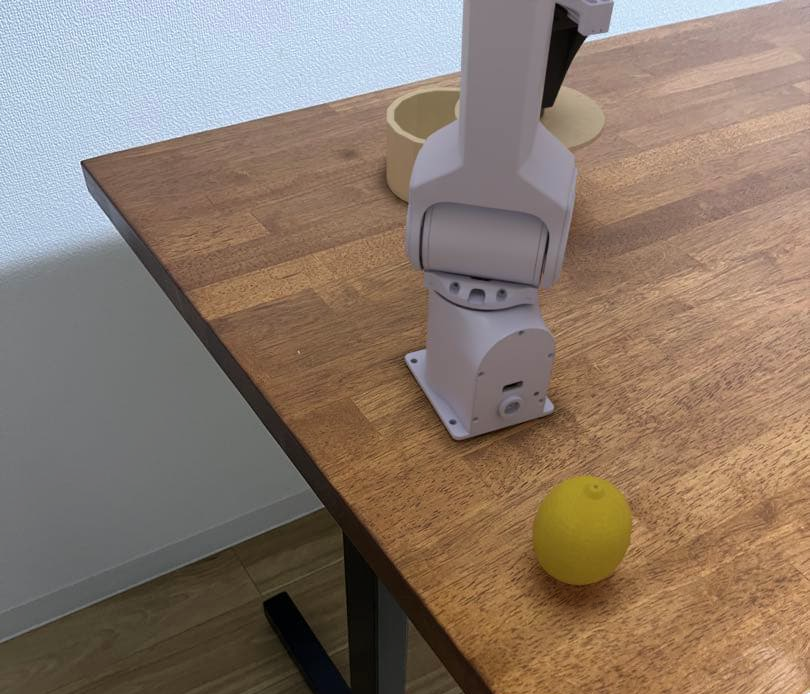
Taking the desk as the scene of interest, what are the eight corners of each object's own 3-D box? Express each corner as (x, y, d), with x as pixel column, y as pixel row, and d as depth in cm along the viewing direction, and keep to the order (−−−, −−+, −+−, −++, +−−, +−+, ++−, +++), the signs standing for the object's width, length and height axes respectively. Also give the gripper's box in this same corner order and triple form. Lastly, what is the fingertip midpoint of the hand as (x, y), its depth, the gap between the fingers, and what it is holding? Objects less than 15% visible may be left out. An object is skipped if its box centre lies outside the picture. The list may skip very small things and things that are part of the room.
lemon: (611, 617, 48) (646, 534, 41) (518, 600, 48) (539, 516, 42) (615, 544, 51) (648, 457, 45) (528, 529, 52) (549, 442, 45)
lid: (630, 147, 66) (644, 92, 62) (495, 175, 63) (501, 118, 59) (555, 83, 73) (564, 30, 69) (430, 106, 69) (432, 51, 66)
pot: (525, 197, 76) (535, 133, 71) (414, 221, 73) (416, 156, 68) (473, 141, 82) (479, 79, 78) (369, 161, 79) (368, 98, 75)
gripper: (670, -83, 52) (621, 130, 63) (558, -142, 60) (532, 56, 71) (575, -71, 50) (541, 146, 61) (473, -134, 58) (459, 68, 69)
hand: (531, 99), depth 66 cm, fingers closed on lid, 2 cm apart
